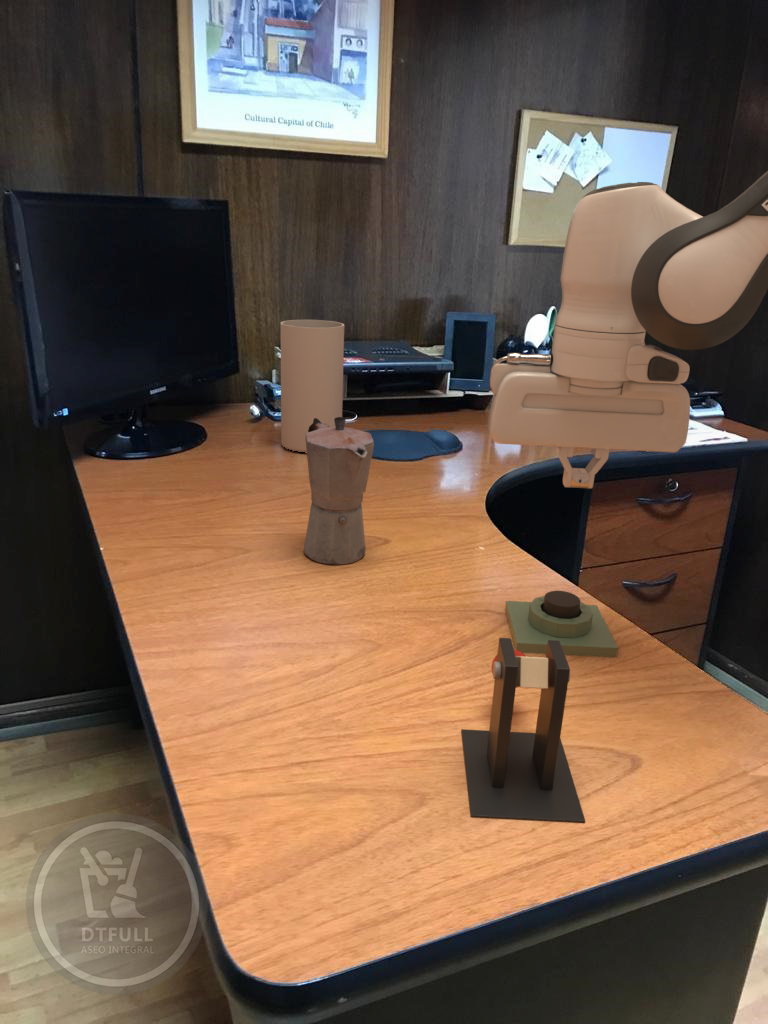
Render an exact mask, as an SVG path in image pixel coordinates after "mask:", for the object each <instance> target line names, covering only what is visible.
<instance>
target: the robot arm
mask: <svg viewBox="0 0 768 1024" xmlns="http://www.w3.org/2000/svg"><path fill="white" fill-rule="evenodd" d="M559 280H560V287H561V303H560V307H559V310H558V313H557V315H556V317H555V321H554V328H553V337H552V345H551V353H549V354H548V353H528V354H527V353H526V354H524V353H520V352H508V353H507V354H506V356H502V357H500V358H498V359H497V360H495V362H494V363H493V364H492V366H491V368H490V369H491V370H490V376H489V388H490V391H491V393H492V394H493V395H492V399H491V403H490V408H489V413H488V419H487V432H488V435H489V436H490V438H491V439H492V441H494V442H495V443H496V444H498V445H499V444H500V445H513V446H514V445H517V446H533V447H534V446H535V447H536V446H537V447H552V448H553V447H556V449H555V452H556V454H557V457H558V459H559V461H560V463H561V465H562V467H563V475H562V485H563V486H564V488H578V489H590V490H591V489H593V488H594V482H595V477H596V475H597V473H599V471H600V470H601V469H602V467H603V466H604V465H605V464H606V463H607V461H608V460H609V456H610V450H615V451H616V450H617V451H631V452H632V451H633V452H653V453H654V452H656V453H671V454H672V453H677V452H678V451H680V449H682V448H683V446H685V444H686V443H687V438H688V434H689V426H690V416H691V415H690V414H691V398H690V394H689V391H688V389H686V387H685V386H683V385H682V384H684V383H685V382H687V381H688V378H689V375H690V370H691V369H690V364H689V363H688V362H686V361H685V360H684V359H682V358H680V357H678V356H676V355H675V354H672V353H670V352H667V351H664V350H663V349H662V348H660V347H658V346H656V345H653V344H646V342H645V338H646V334H648V335H649V336H650V337H652V338H653V339H654V340H656V341H658V342H659V343H661V344H663V345H665V346H667V347H670V348H674V349H677V350H684V351H696V350H697V351H699V350H704V349H709V348H712V347H715V346H718V345H720V344H723V343H724V342H726V341H728V340H730V339H731V338H733V337H734V336H736V335H737V334H738V333H739V332H741V331H742V329H744V327H746V325H747V324H748V323H749V322H750V320H751V319H752V317H753V316H754V315H755V313H756V312H757V311H758V308H759V306H760V305H761V303H762V301H763V299H764V297H765V295H766V293H767V291H768V170H767V171H766V172H764V173H763V174H762V175H761V176H760V177H759V178H758V179H757V180H756V181H754V183H752V184H751V185H750V186H749V187H748V188H746V190H744V191H743V192H742V193H741V194H739V195H738V196H737V197H736V198H735V199H733V200H732V201H730V202H729V203H728V204H726V205H725V206H723V207H721V208H720V209H719V210H717V211H715V212H712V213H709V214H707V215H706V216H702V215H700V214H699V213H697V212H695V211H693V210H692V209H690V208H688V207H686V206H685V205H684V204H682V203H680V202H678V201H677V200H675V199H674V198H673V197H671V196H670V195H669V194H668V193H667V192H666V191H664V190H663V189H662V187H661V186H660V185H659V184H657V183H653V182H650V181H637V182H623V183H617V184H612V185H605V186H602V187H600V188H596V189H593V190H590V191H589V192H587V193H586V194H585V195H583V196H582V197H581V198H580V200H578V201H577V203H576V205H575V207H574V209H573V212H572V215H571V219H570V222H569V226H568V230H567V234H566V239H565V245H564V249H563V257H562V263H561V271H560V279H559ZM505 361H506V362H505ZM575 449H590V453H591V454H592V456H593V457H592V458H591V459H590V461H589V462H588V463H587V465H586V466H585V468H584V467H583V468H581V467H573V466H572V465H571V462H570V460H569V458H573V457H574V453H575Z"/></svg>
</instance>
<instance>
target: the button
mask: <svg viewBox="0 0 768 1024" xmlns="http://www.w3.org/2000/svg"><path fill="white" fill-rule="evenodd" d="M544 596H545V597H544V604H543V612H545V613H546V614H548V615H549V616H553V617H556V618H561V619H572V618H576V617H578V615H579V608H580V601H581V598H580V597H578V596H577V595H576V594H575V593H572V592H569V591H564V590H550V591H548V592H546V593H545V594H544Z"/></svg>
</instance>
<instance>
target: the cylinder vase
mask: <svg viewBox="0 0 768 1024" xmlns="http://www.w3.org/2000/svg"><path fill="white" fill-rule="evenodd" d="M344 353H345V324H344V323H342V322H338V321H334V320H325V319H324V320H323V319H290V320H283V321H280V443H281V445H282V447H283V448H284V447H285V449H286V450H288V449H289V450H288V451H290V450H292V451H291V452H294V451H298V452H307V449H306V438H305V434H306V433H308V430H309V426H311V425H312V424H313V420H314V418H317V419H319V421H320V422H321V423H326V424H328V425H329V426H330V427H335V421H334V419H335V418H337V417H343V401H344V399H343V397H344V391H343V390H344V361H345V360H344ZM298 452H297V453H298Z"/></svg>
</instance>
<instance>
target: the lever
mask: <svg viewBox="0 0 768 1024" xmlns="http://www.w3.org/2000/svg"><path fill="white" fill-rule="evenodd" d="M514 652H515V656H516V660H517V664H518V673H517V682H516V689H517V688H521V689H522V688H523V689H540V690H541V689H548V658H545V657H544V656H543V657H541V656H527V655H526V654H525V653H522V652H520V651H518V650H515V648H514ZM495 661H496V662H497V654H496V655H495V656H494V658H493V660H492V663H491V672H492V675H493V663H494V662H495Z"/></svg>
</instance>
